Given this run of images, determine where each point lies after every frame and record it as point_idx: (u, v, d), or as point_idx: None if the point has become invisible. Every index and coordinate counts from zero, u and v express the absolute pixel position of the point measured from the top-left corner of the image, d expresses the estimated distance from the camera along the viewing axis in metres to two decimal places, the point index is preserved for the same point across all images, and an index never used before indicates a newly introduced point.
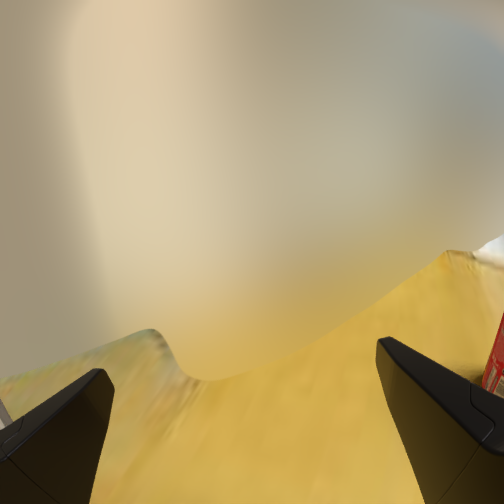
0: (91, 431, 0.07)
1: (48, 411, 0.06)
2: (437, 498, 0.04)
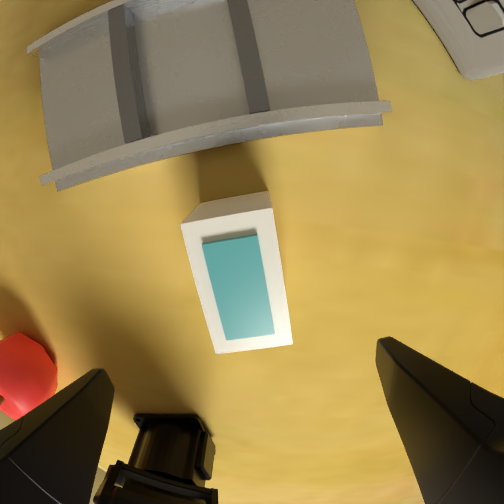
0: (91, 431, 0.07)
1: (48, 411, 0.06)
2: (437, 498, 0.04)
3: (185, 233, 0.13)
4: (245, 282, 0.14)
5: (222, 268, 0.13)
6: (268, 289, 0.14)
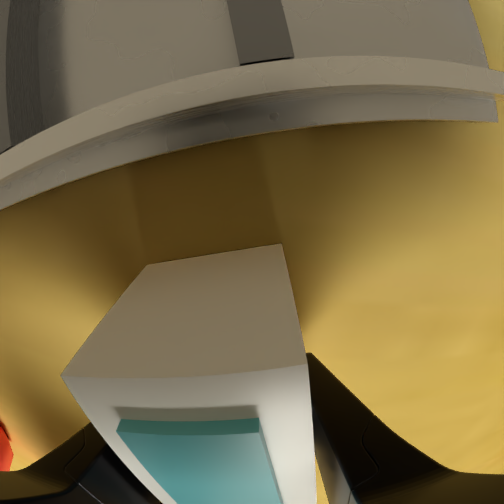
0: None
1: None
2: None
3: (77, 395, 0.04)
4: (230, 488, 0.05)
5: (175, 470, 0.04)
6: (280, 485, 0.05)
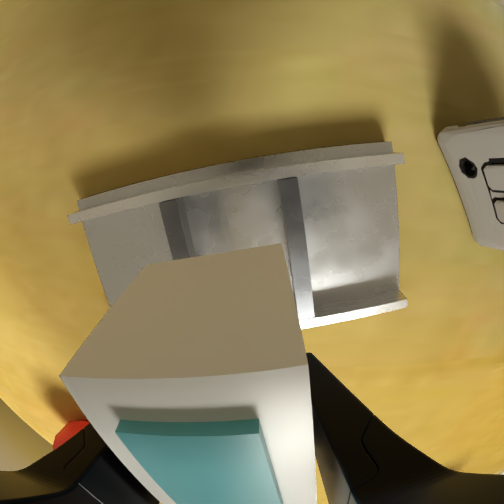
0: None
1: None
2: None
3: (76, 396, 0.04)
4: (230, 489, 0.05)
5: (175, 470, 0.04)
6: (281, 486, 0.05)
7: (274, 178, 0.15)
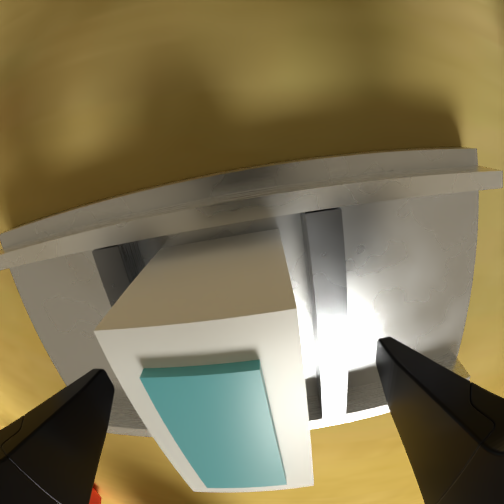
0: (91, 431, 0.07)
1: (48, 411, 0.06)
2: (437, 498, 0.04)
3: (106, 348, 0.06)
4: (235, 436, 0.06)
5: (188, 416, 0.06)
6: (279, 437, 0.06)
7: (298, 210, 0.08)
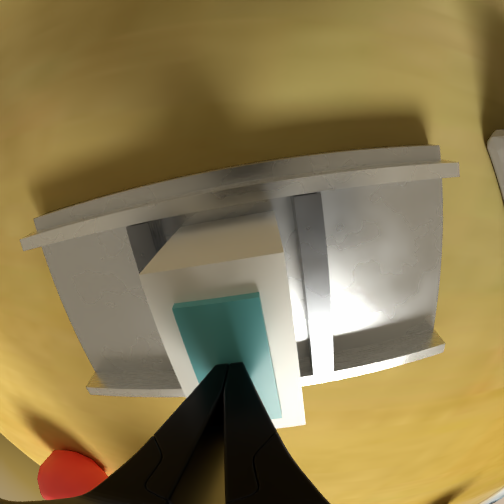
0: None
1: (191, 424, 0.06)
2: None
3: (147, 289, 0.08)
4: (240, 360, 0.09)
5: (205, 341, 0.08)
6: (274, 366, 0.09)
7: (288, 194, 0.11)
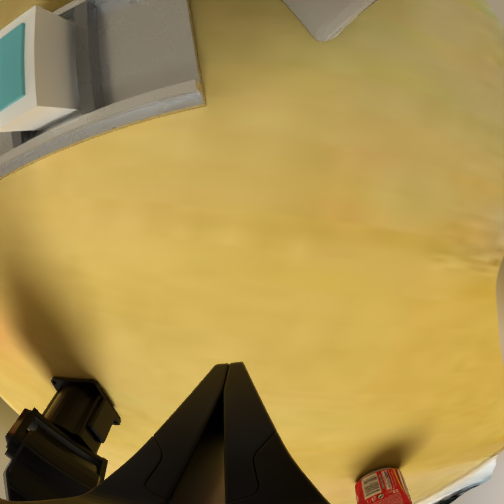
0: None
1: (191, 424, 0.06)
2: None
3: None
4: (11, 56, 0.10)
5: (2, 52, 0.10)
6: (25, 59, 0.10)
7: (72, 6, 0.12)
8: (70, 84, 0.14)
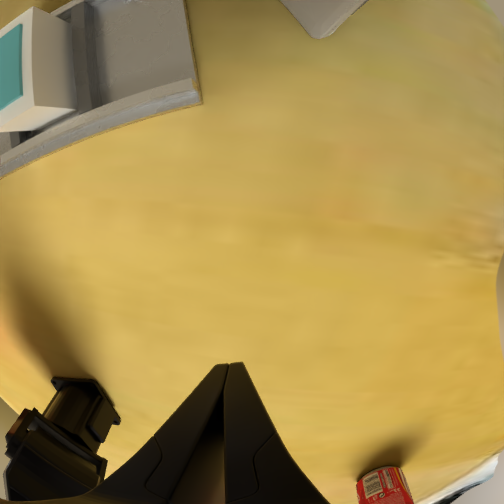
0: None
1: (191, 424, 0.06)
2: None
3: None
4: (8, 57, 0.10)
5: (0, 53, 0.10)
6: (22, 60, 0.10)
7: (69, 7, 0.12)
8: (67, 84, 0.14)
